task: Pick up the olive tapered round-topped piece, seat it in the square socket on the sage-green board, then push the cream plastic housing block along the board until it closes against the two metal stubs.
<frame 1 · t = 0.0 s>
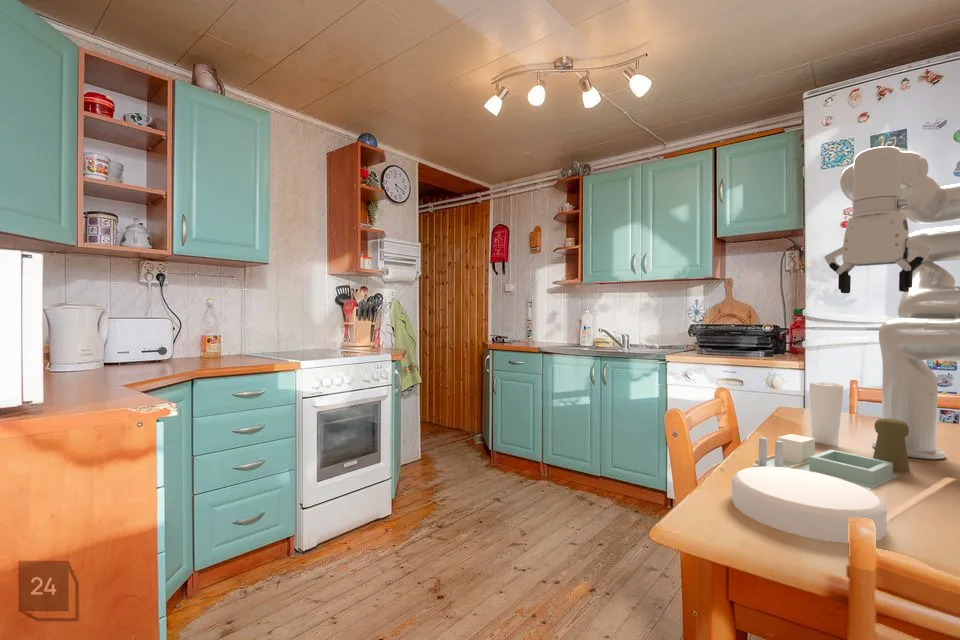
hand: (873, 292, 96), 37 cm above the table, tool pointing down, fingers open, 9 cm apart
base: (822, 475, 91), on the table
drinking glass: (824, 444, 115), on the table
olive tapered round-topped piece: (890, 474, 93), on the table
container: (802, 515, 74), on the table
housing: (795, 448, 98), point 3 cm above the table, slide at 0.0 cm, touching base
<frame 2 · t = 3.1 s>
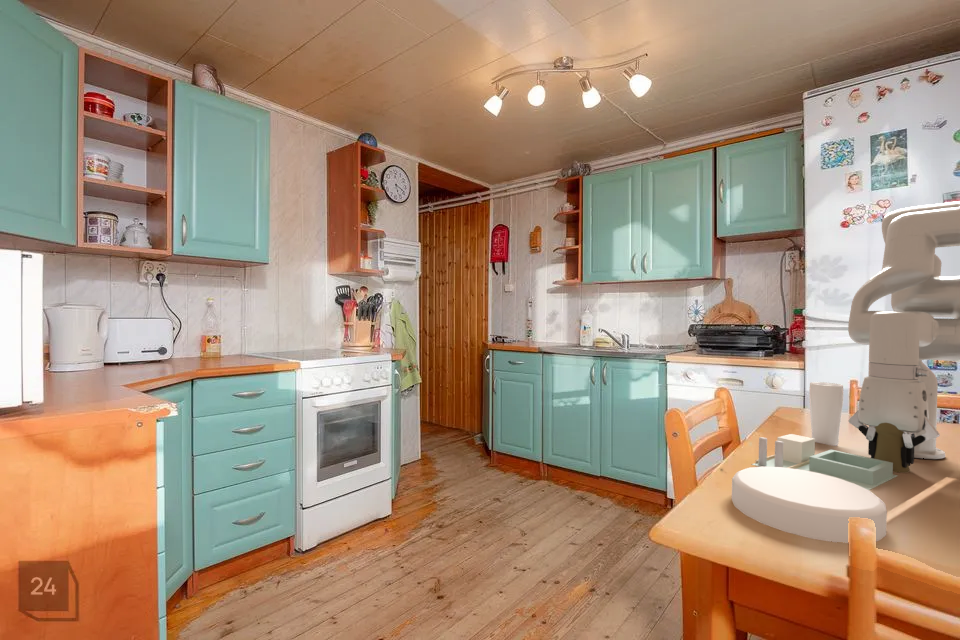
hand: (890, 462, 93), 2 cm above the table, tool pointing down, fingers closed on olive tapered round-topped piece, 4 cm apart
olive tapered round-topped piece: (890, 474, 93), on the table, touching gripper
everything else where it was.
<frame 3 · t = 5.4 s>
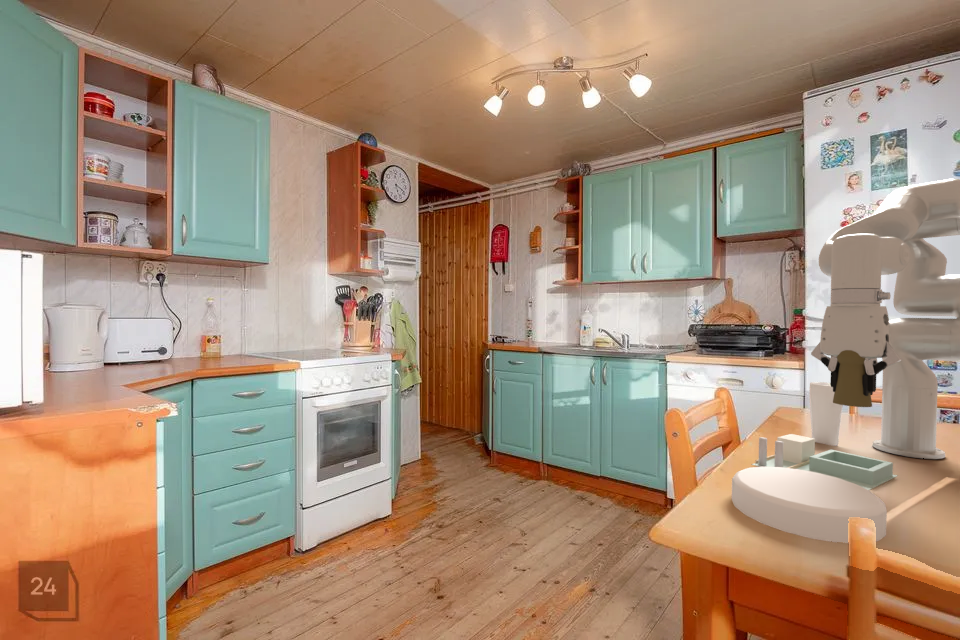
hand: (852, 392, 90), 17 cm above the table, tool pointing down, fingers closed on olive tapered round-topped piece, 4 cm apart
olive tapered round-topped piece: (852, 405, 90), point 14 cm above the table, touching gripper
everything else where it was.
when the fingers open (5 cm above the table, at t = 7.8 s): olive tapered round-topped piece drops 1 cm, resting on base.
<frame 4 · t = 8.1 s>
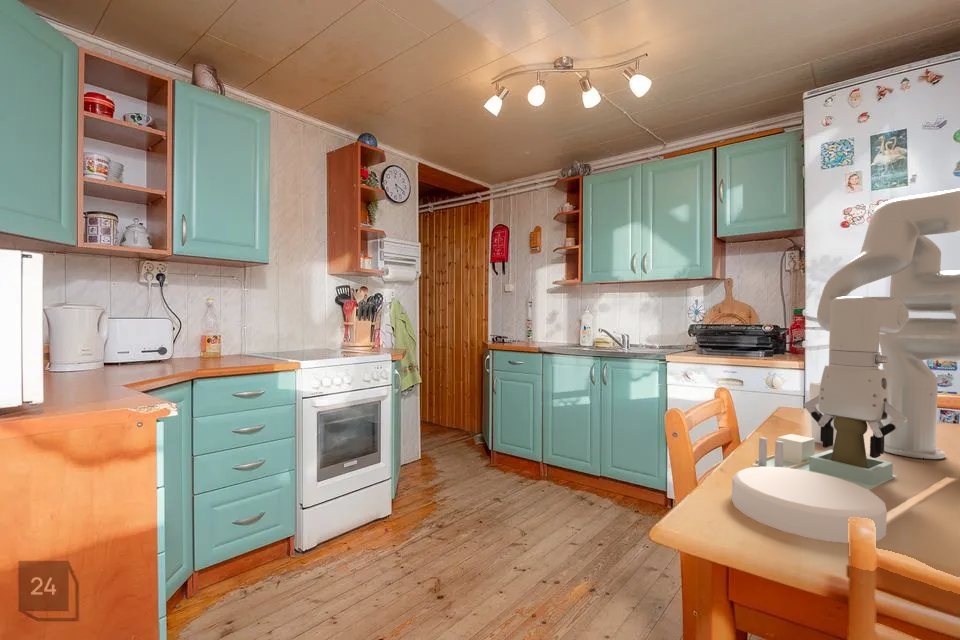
hand: (850, 450, 90), 5 cm above the table, tool pointing down, fingers open, 7 cm apart
olive tapered round-topped piece: (848, 472, 90), point 1 cm above the table, touching base
everything else where it was.
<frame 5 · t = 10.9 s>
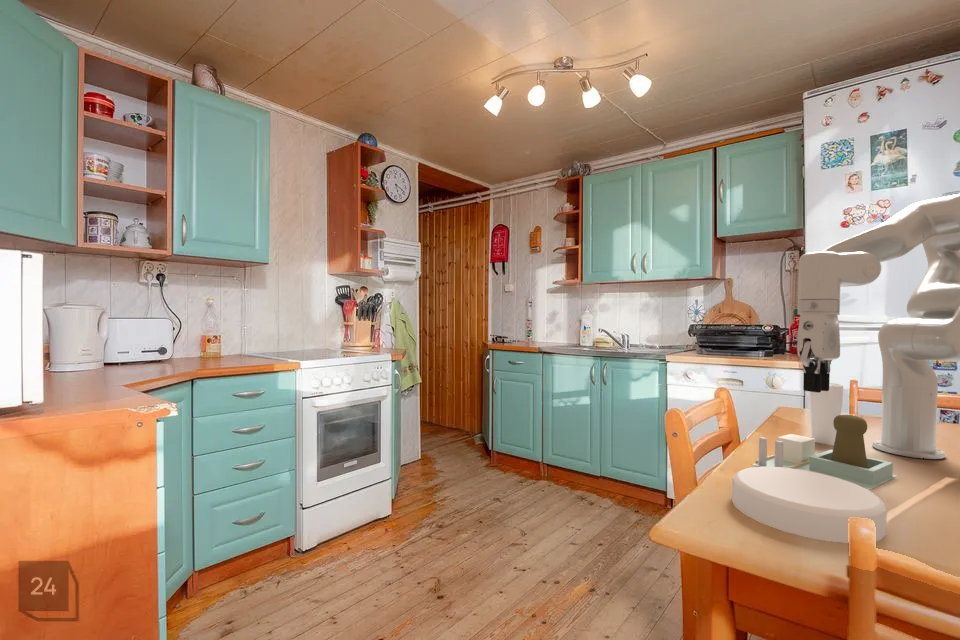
hand: (816, 390, 102), 15 cm above the table, tool pointing down, fingers open, 3 cm apart
nothing on the table moved.
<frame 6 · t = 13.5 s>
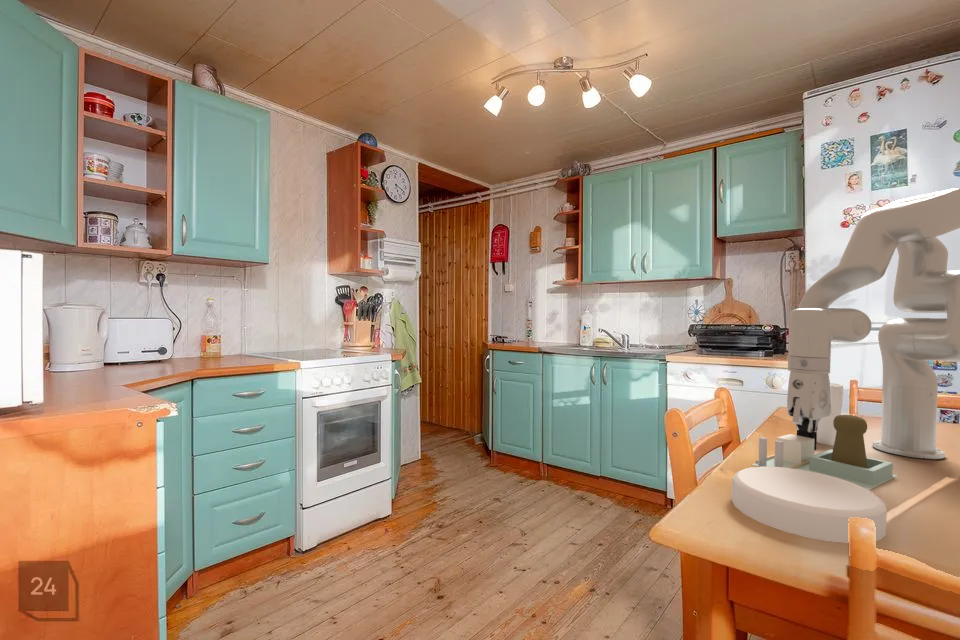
hand: (806, 448, 100), 3 cm above the table, tool pointing down, fingers closed
housing: (795, 448, 97), point 3 cm above the table, slide at 0.3 cm, touching base, gripper
everything else where it was.
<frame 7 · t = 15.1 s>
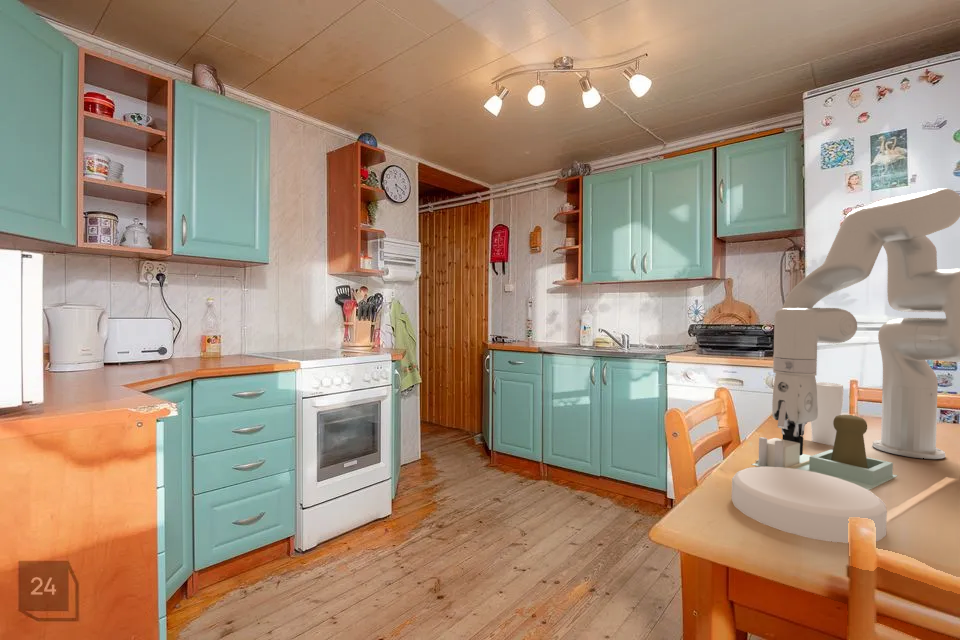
hand: (792, 453, 97), 3 cm above the table, tool pointing down, fingers closed
housing: (780, 453, 94), point 3 cm above the table, slide at 6.8 cm, touching base, gripper
everything else where it was.
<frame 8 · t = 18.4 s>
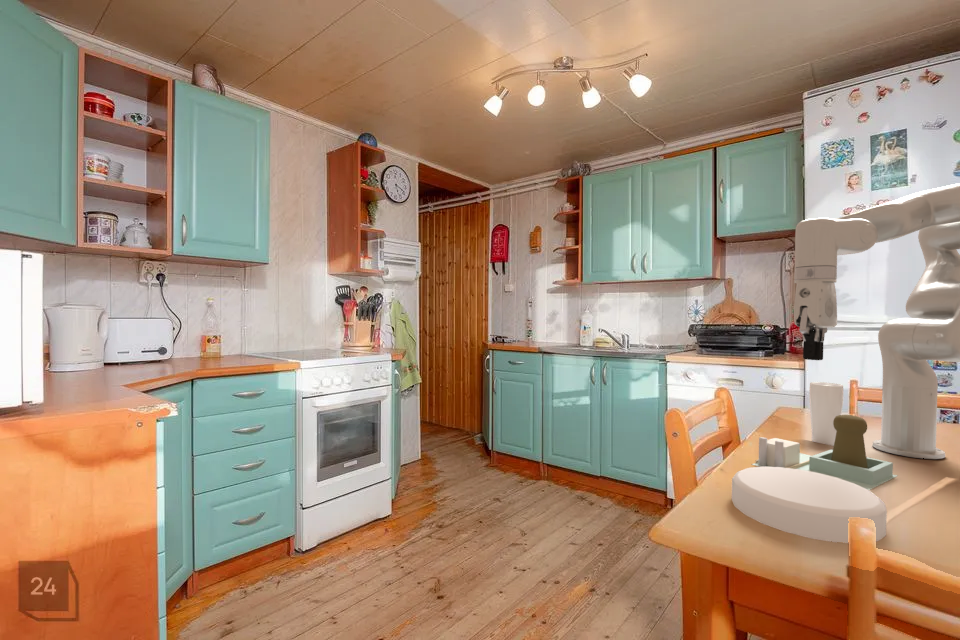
hand: (812, 359, 101), 22 cm above the table, tool pointing down, fingers closed
housing: (780, 453, 94), point 3 cm above the table, slide at 6.8 cm, touching base
everything else where it was.
at the end: olive tapered round-topped piece 0.4 cm from the target spot on the base, point 1.0 cm above the base's base; olive tapered round-topped piece tilted 0°; housing slide at 6.8 cm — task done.
